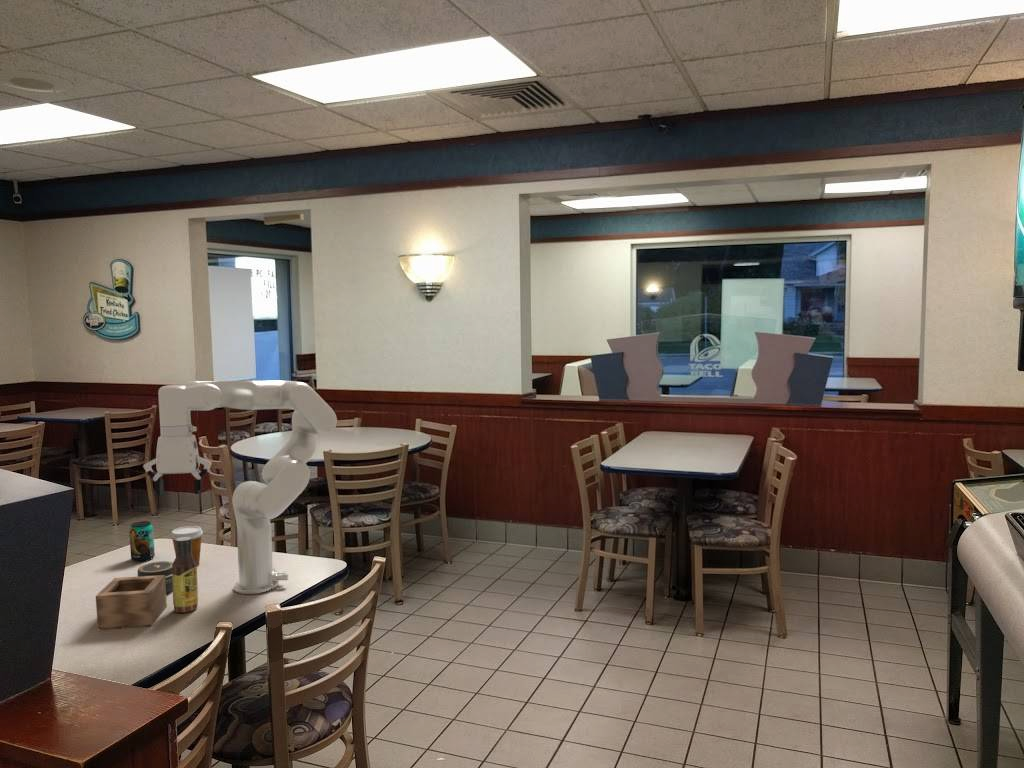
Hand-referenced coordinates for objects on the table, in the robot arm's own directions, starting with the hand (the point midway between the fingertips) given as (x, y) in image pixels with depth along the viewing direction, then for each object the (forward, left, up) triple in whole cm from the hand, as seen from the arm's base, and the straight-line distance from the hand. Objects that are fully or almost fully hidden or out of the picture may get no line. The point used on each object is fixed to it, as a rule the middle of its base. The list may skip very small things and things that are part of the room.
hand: (179, 493), depth 201 cm
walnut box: (+12, +4, -32) cm, 35 cm away
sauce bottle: (0, 0, -33) cm, 33 cm away
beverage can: (+26, -46, -33) cm, 62 cm away
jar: (+12, -15, -33) cm, 38 cm away
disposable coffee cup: (+9, -36, -33) cm, 49 cm away
